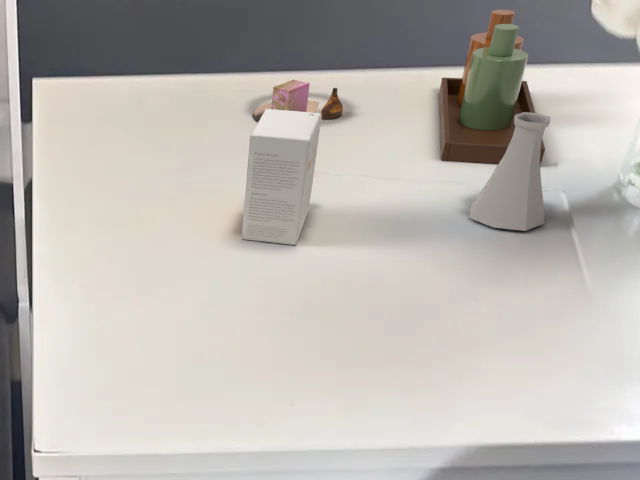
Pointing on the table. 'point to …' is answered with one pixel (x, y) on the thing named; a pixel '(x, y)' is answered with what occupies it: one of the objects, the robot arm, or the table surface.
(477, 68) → the green bottle
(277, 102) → the plate of sweets
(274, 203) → the small box
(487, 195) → the flask
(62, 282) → the table surface
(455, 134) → the tray
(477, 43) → the amber bottle
